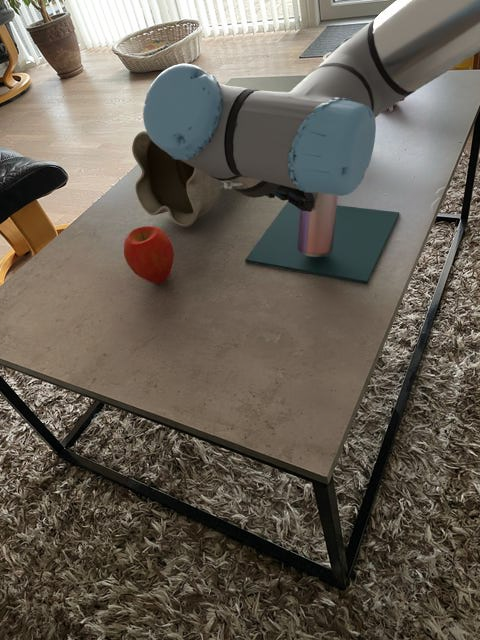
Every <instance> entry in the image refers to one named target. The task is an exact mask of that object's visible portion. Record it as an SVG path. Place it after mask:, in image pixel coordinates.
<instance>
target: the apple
mask: <svg viewBox="0 0 480 640" xmlns="http://www.w3.org/2000/svg"><path fill="white" fill-rule="evenodd" d="M123 257H124V259H125V261H126V264H127V265H128V267H129V268H130V269H131V270H132V272H133V273H134V274H135V275H137V276H138V277H139V278H141V279H143V280H145V281H148V282H149V283H152V284H155V285H160V284H164V283H165V282H167V280H168V279H169V277H170V275H171V272H172V269H173V265H174V260H175V251H174V246H173V243H172V241H171V239H170V238H169V236H168V235H167V233H166V232H165V231H164V230H162V229H161V228H159V227H157V226H141V227H137V228H135V229H132V230H131V232H129V234H128V235H127V236H126V238H125V240H124V242H123Z"/></svg>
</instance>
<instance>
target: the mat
mask: <svg viewBox="0 0 480 640" xmlns="http://www.w3.org/2000/svg"><path fill="white" fill-rule="evenodd" d="M299 216H300V209H299V208H297V207H296V206H294V205H293V204H291V203H290V202H288V201H286V203H285V204H284V205H283V207H282V208H281V210H280V211H279V213H278V214H277V215H276V216H275V218H274V219H273V221H272V222H271V224H270V225H268V227H267V228H266V230H265V232H264V233H263V235H262V236H261V237H260V239H259V240H258V241H257V242H256V244H255V245H254V247H253V248H252V250H251V251H250V252H249V254H248V255H247V256H246V258H245V259H244V261H245V263H249V264H254V265H260V266H266V267H270V268H271V267H272V268H277V269H283V270H287V271H293V272H299V273H305V274H311V275H315V276H321V277H326V278H333V279H336V280H337V279H338V280H344V281H348V282H355V283H360V284H365V285H366V284H367V285H368V283H369V281H370V279H371V277H372V274H373V272H374V270H375V268H376V266H377V264H378V261H379V260H380V257H381V255H382V253H383V251H384V249H385V247H386V245H387V242H388V240H389V238H390V236H391V235H392V234H391V233H392V232H393V230H394V227H395V225H396V223H397V221H398V219H399V217H400V211H391V210H383V209H373V208H366V207H358V206H357V207H356V206H347V205H339V204H337V213H336V223H335V232H334V242H333V251H332V252H331V254H330V255H329V256H326V257H309V256H304V255H302V254H300V253H299V252H298V249H297V243H298V229H299Z"/></svg>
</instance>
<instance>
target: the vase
mask: <svg viewBox="0 0 480 640" xmlns="http://www.w3.org/2000/svg"><path fill="white" fill-rule="evenodd" d="M131 151H132V155H133V158H134V160H135V161H136V164H137V165H138V166H139V168H140V169H141V175H140V177H139V178H138V179H137V181H136V182H135V187H134V188H135V194H136V197H137V200H138V201H139V204H140V205H141V207H142V208H143V210H144V211H145V212H146V213H147V214H148V215H150V216H156V215H160V214H165V213H168V215H169V217H170V219H171V220H172V222H174V223H175V224H177V225H178V226H181V227H189V226H191V225H193V224H194V223H195V221H196V220H197V218H200V217H202V216H205V215H206V214H207V213H209V211H211V209H212V208H213V207H214V205H215V204H216V202H217V200H218V198H219V195H220V193H221V188H222V186H223V185H224V183H222V182H221V181H219V180H217V179H215V178H213V177H211V176H209V175H207V174H205V173H204V172H202V171H200V170H198V169H196V168H194V167H192V166H190V165H189V164H187V163H185V162H183V161H181V160H176V159H174V158H172V156H170V155H169V154H168V153H167V152H166V151H164V150H163V149H161V148H160V147H158V146H157V145H156V144H155V143H154V142H153V141H152V140H151V139H150V137H149V135H148V133H147V131H146V130H143V131H140V132H138V133H137V134H136V135H135V137H134V139H133V141H132V146H131Z"/></svg>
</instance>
